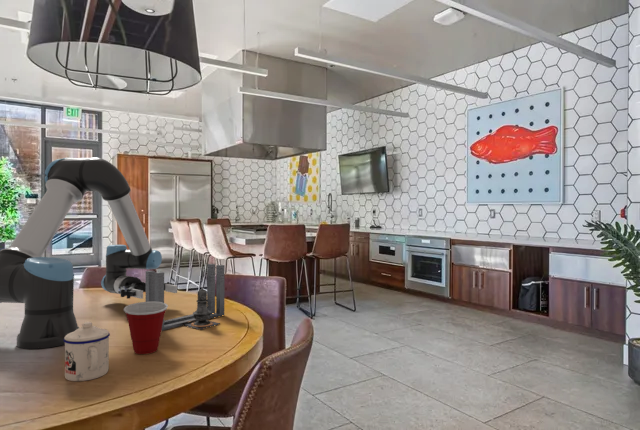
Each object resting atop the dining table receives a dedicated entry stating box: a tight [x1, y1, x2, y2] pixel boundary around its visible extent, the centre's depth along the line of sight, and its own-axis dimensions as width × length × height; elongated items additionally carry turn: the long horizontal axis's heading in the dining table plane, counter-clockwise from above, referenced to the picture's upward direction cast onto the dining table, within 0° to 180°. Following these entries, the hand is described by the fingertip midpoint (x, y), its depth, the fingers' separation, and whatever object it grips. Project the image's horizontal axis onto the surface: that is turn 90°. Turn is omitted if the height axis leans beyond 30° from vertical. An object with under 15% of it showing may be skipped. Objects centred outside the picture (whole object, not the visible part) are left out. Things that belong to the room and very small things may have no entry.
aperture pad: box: [183, 319, 221, 330], centre depth 136 cm, size 8×8×1 cm
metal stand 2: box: [155, 264, 226, 332], centre depth 140 cm, size 2×26×18 cm, turn 143°
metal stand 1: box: [145, 263, 216, 325], centre depth 143 cm, size 2×26×18 cm, turn 143°
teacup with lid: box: [64, 321, 111, 382], centre depth 93 cm, size 12×9×12 cm
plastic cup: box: [123, 301, 169, 355], centre depth 110 cm, size 11×11×12 cm
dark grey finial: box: [192, 286, 211, 326], centre depth 136 cm, size 6×6×12 cm
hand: (159, 291), depth 151 cm, fingers open, 13 cm apart
